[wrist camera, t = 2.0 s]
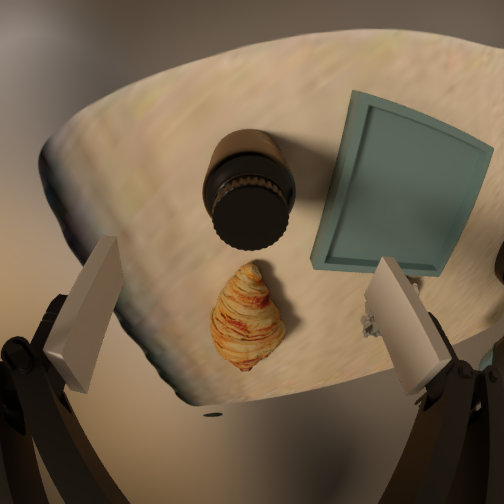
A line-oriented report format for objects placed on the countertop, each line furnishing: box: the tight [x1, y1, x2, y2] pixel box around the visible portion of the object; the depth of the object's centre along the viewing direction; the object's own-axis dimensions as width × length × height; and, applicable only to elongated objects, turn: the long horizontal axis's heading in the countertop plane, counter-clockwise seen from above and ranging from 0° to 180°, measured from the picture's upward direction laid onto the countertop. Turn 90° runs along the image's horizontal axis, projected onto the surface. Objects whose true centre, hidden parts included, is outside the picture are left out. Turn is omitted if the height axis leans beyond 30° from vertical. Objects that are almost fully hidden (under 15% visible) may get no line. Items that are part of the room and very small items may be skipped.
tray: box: [310, 90, 494, 277], centre depth 29 cm, size 20×20×2 cm
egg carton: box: [361, 279, 419, 338], centre depth 39 cm, size 11×8×4 cm
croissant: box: [210, 263, 286, 371], centre depth 38 cm, size 21×10×8 cm, turn 179°
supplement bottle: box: [202, 129, 296, 251], centre depth 22 cm, size 7×7×12 cm
